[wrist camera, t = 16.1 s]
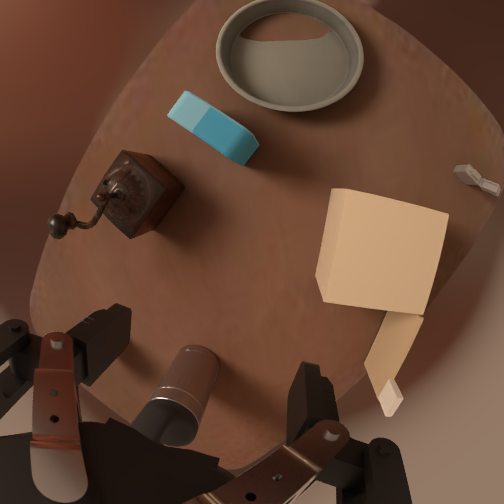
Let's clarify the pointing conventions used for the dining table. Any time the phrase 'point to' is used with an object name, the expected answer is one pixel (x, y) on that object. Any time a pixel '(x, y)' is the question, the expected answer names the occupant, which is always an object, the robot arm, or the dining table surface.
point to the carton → (379, 252)
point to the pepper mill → (128, 197)
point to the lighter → (476, 179)
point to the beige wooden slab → (391, 356)
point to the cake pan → (290, 58)
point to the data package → (214, 127)
